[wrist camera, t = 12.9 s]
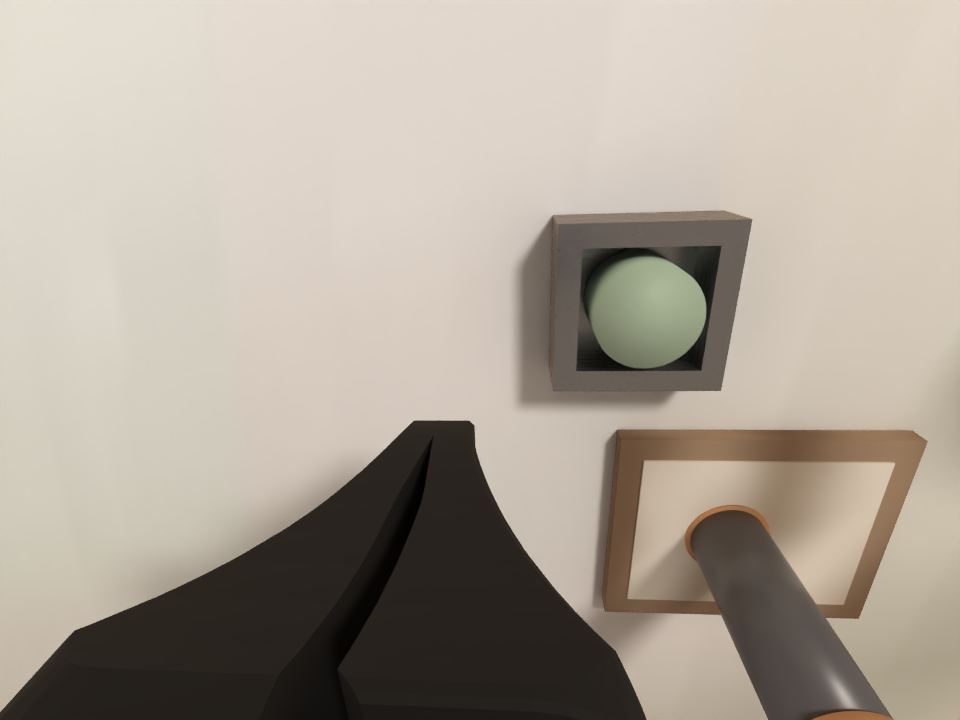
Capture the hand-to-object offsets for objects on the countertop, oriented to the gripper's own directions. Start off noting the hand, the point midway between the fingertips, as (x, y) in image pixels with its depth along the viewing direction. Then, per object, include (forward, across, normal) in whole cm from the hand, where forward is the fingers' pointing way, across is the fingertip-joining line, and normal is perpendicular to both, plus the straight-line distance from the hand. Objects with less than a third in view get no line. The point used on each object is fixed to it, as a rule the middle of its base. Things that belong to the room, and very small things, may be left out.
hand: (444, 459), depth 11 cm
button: (+9, -6, -1) cm, 11 cm away
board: (+9, -12, +10) cm, 18 cm away
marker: (+8, -11, +10) cm, 17 cm away
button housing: (+9, -6, -1) cm, 11 cm away
